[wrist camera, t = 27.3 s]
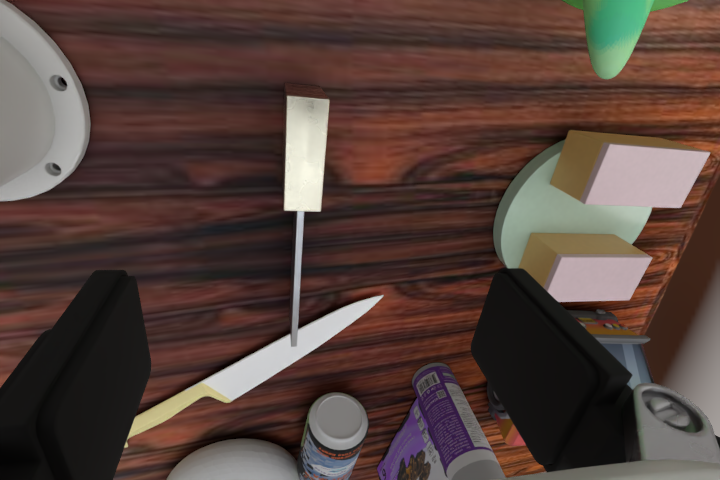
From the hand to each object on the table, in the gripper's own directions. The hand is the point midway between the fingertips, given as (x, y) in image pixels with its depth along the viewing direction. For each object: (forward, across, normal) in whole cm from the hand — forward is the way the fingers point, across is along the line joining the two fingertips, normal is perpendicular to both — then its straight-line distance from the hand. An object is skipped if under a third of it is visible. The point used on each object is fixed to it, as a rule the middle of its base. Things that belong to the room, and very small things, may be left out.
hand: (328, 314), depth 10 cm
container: (+20, -16, +26) cm, 37 cm away
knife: (+20, +4, +24) cm, 32 cm away
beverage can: (+17, -5, +25) cm, 30 cm away
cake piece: (+19, -26, +9) cm, 33 cm away
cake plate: (+20, -25, +6) cm, 33 cm away
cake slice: (+19, -26, 0) cm, 32 cm away
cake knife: (+20, 0, +7) cm, 21 cm away
